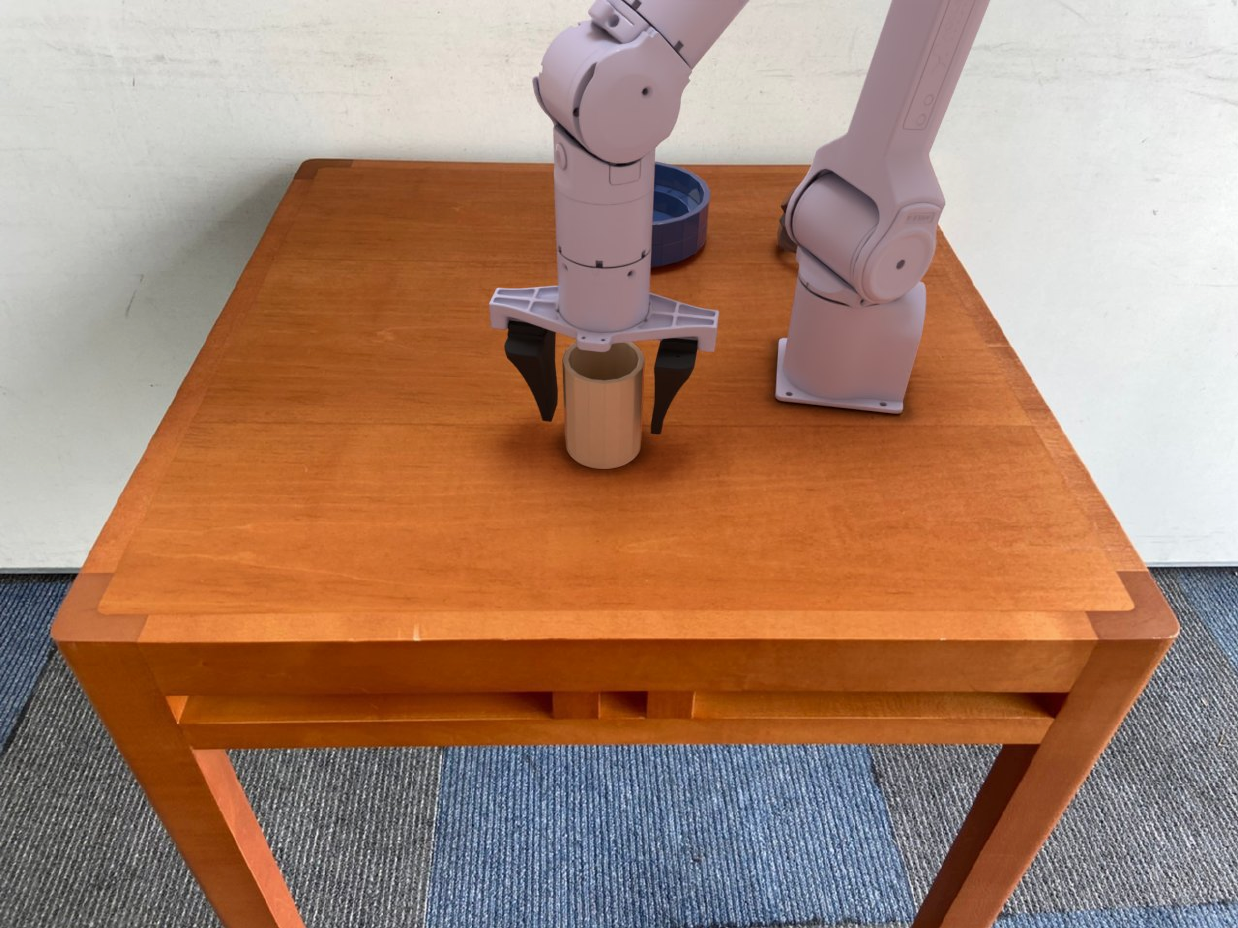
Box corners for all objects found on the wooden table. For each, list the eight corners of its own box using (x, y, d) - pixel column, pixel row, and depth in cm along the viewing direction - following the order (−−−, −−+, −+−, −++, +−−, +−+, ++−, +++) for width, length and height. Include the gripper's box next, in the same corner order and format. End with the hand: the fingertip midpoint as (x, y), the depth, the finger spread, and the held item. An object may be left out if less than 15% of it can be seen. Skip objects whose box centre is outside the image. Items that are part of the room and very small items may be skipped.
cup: (645, 424, 67) (649, 340, 62) (634, 473, 63) (637, 387, 58) (574, 416, 67) (571, 331, 62) (558, 464, 63) (555, 378, 58)
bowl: (711, 214, 91) (715, 166, 88) (698, 281, 82) (703, 231, 78) (583, 202, 93) (582, 155, 89) (555, 267, 83) (553, 217, 80)
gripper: (468, 266, 52) (487, 443, 61) (719, 291, 51) (700, 469, 60) (499, 210, 57) (513, 381, 66) (728, 231, 56) (710, 403, 65)
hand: (603, 418), depth 63 cm, fingers open, 7 cm apart
